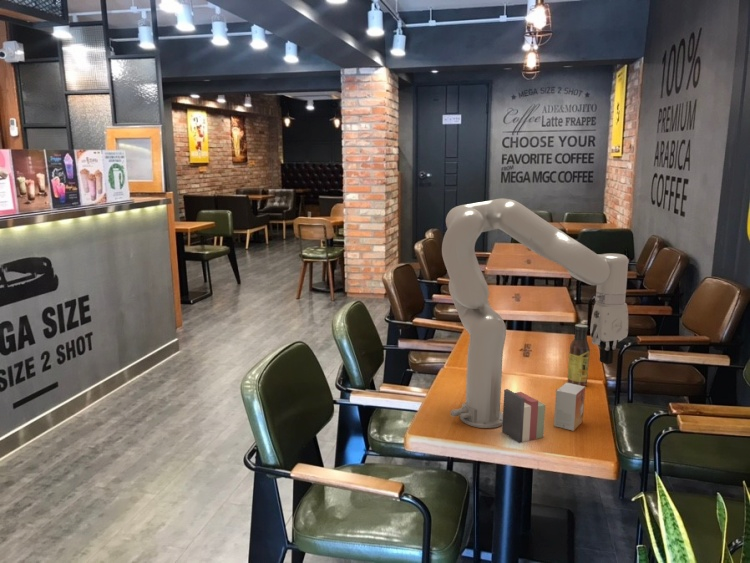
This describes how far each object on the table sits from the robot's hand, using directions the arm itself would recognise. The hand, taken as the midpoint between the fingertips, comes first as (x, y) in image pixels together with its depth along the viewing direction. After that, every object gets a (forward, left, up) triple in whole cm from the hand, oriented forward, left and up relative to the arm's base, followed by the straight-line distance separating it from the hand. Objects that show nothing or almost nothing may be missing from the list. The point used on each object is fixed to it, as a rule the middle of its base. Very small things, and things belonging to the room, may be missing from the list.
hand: (606, 362), depth 163 cm
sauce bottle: (+13, +23, -16) cm, 31 cm away
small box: (-12, 0, -16) cm, 20 cm away
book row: (-28, 0, -16) cm, 33 cm away
